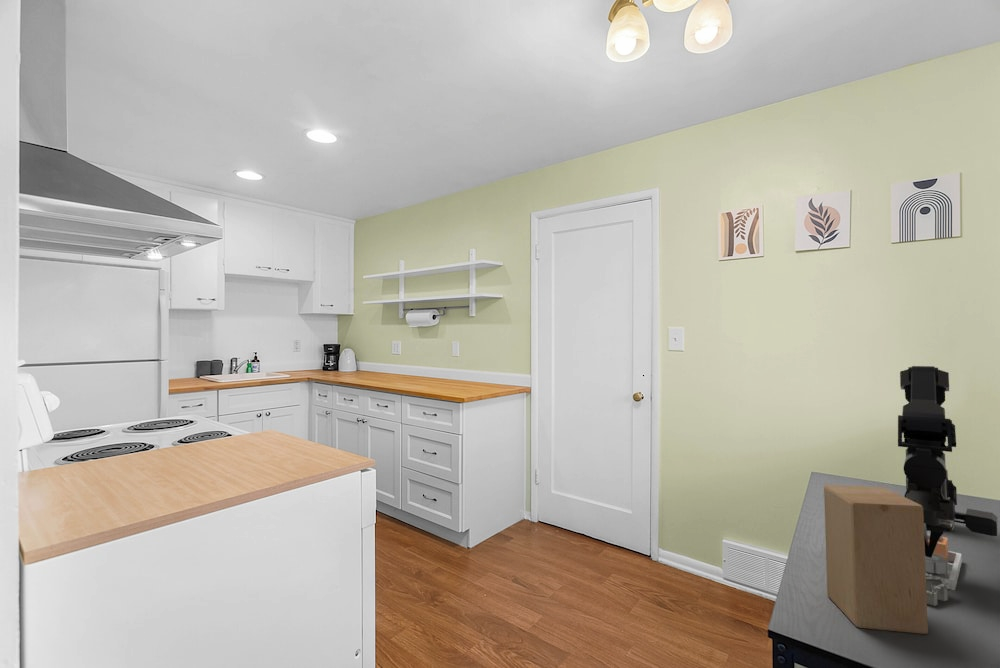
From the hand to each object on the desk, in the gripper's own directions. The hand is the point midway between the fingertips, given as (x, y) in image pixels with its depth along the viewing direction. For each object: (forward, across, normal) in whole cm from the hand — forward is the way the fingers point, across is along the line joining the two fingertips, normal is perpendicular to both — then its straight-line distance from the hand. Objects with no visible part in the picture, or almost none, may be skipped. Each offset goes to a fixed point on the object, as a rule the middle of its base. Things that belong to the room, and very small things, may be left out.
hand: (928, 556), depth 90 cm
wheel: (+2, 0, 0) cm, 2 cm away
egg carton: (+4, -2, -9) cm, 10 cm away
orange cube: (+4, 0, +8) cm, 9 cm away
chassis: (+4, 0, +4) cm, 6 cm away
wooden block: (+4, -5, -24) cm, 24 cm away
